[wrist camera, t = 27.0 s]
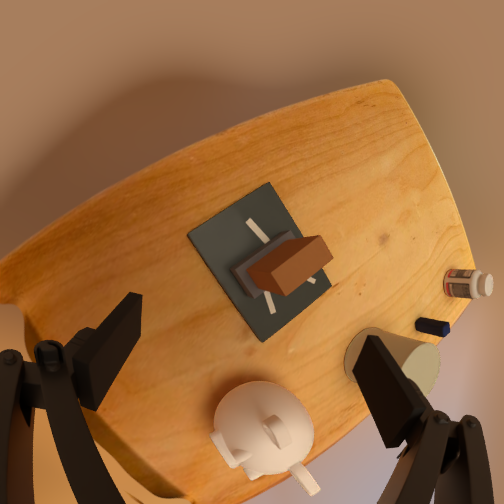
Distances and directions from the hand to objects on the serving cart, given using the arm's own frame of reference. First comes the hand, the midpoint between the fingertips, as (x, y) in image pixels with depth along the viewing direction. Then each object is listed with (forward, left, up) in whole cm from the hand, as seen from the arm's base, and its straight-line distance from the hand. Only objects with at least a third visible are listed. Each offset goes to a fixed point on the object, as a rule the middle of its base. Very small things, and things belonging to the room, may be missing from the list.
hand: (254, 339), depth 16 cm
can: (+23, +14, -20) cm, 34 cm away
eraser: (+27, +26, -20) cm, 43 cm away
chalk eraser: (+1, +8, -19) cm, 20 cm away
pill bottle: (+27, +38, -20) cm, 51 cm away
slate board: (+1, +8, -20) cm, 21 cm away
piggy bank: (+16, -5, -20) cm, 26 cm away
